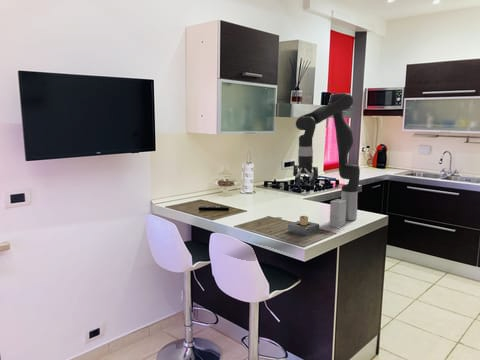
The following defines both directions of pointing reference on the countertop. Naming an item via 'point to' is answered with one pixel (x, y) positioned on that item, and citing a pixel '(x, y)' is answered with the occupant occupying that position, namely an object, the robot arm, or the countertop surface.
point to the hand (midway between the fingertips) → (305, 185)
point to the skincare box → (337, 213)
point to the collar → (303, 228)
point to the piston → (304, 221)
